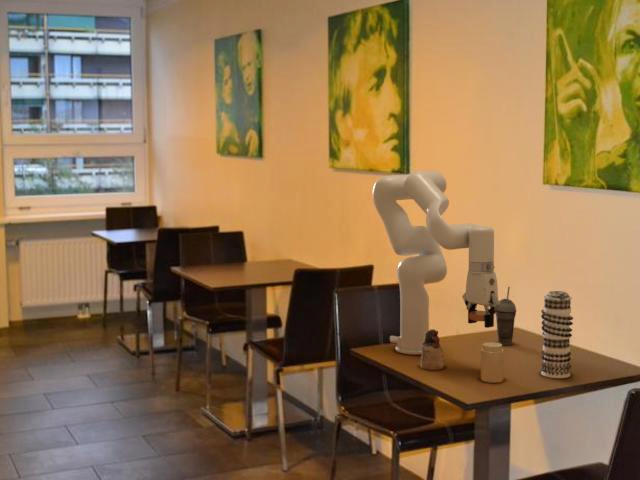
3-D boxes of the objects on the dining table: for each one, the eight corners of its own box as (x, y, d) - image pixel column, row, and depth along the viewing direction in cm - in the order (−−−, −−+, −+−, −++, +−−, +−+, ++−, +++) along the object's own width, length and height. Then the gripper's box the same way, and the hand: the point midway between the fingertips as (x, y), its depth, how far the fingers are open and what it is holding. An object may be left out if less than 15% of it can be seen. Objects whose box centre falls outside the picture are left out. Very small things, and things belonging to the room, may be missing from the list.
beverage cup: (502, 340, 312) (503, 283, 310) (520, 343, 307) (521, 286, 304) (489, 343, 307) (490, 286, 305) (507, 347, 302) (508, 289, 299)
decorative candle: (535, 370, 272) (537, 290, 269) (564, 369, 273) (567, 289, 270) (545, 379, 263) (547, 295, 260) (576, 378, 264) (578, 294, 261)
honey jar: (477, 381, 262) (478, 345, 260) (484, 375, 268) (484, 340, 266) (500, 383, 259) (500, 348, 258) (505, 378, 265) (506, 343, 263)
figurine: (437, 363, 282) (437, 326, 280) (447, 368, 275) (448, 330, 274) (416, 365, 279) (416, 327, 278) (427, 371, 273) (427, 332, 271)
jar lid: (496, 319, 271) (496, 313, 271) (479, 322, 267) (479, 316, 267) (481, 315, 277) (481, 309, 277) (464, 318, 273) (464, 312, 273)
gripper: (510, 269, 265) (509, 328, 267) (471, 262, 280) (471, 318, 282) (491, 271, 261) (490, 331, 263) (453, 264, 276) (452, 321, 278)
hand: (480, 324), depth 272 cm, fingers closed on jar lid, 6 cm apart
